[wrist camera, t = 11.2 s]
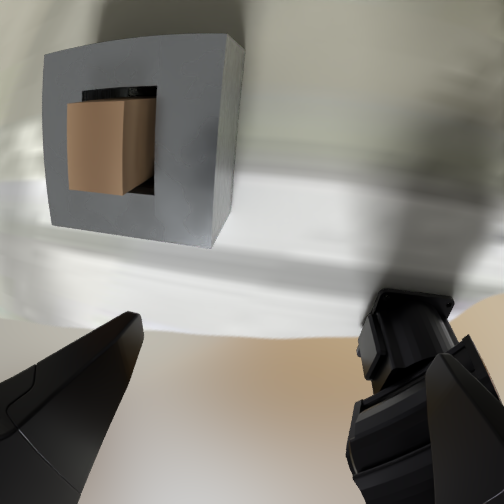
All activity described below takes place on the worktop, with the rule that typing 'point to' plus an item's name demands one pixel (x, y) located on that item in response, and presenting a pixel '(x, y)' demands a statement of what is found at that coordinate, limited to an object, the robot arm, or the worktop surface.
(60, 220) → the grey square socket block
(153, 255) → the worktop surface
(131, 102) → the tan rectangular block
